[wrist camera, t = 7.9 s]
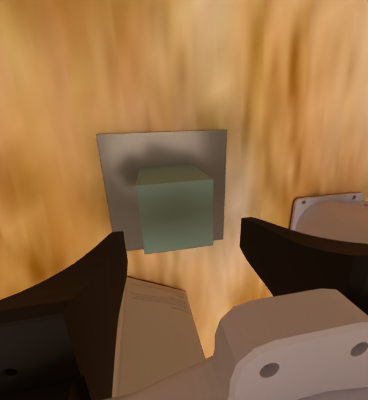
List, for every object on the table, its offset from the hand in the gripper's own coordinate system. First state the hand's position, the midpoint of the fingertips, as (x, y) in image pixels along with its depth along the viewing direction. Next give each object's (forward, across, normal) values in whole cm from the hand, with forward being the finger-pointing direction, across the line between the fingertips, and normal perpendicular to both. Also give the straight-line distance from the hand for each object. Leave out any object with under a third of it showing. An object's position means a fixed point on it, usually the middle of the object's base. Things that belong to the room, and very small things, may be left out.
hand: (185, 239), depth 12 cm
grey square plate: (+10, 0, 0) cm, 10 cm away
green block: (+9, 0, 0) cm, 9 cm away
